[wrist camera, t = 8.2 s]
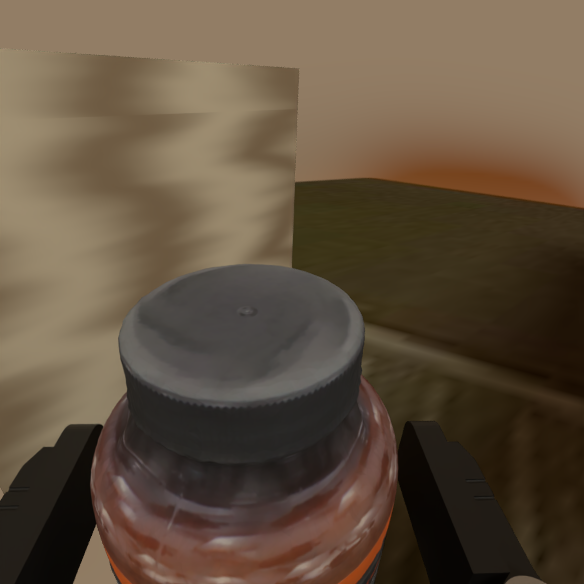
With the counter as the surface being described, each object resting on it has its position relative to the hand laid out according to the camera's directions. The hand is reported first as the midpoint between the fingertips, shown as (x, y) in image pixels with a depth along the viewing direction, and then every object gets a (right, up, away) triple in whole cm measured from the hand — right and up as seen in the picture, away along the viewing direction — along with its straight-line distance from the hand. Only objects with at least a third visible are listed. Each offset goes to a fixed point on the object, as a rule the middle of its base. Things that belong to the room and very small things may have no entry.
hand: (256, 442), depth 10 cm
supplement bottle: (0, -6, +2) cm, 6 cm away
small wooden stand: (-8, 0, +12) cm, 14 cm away
